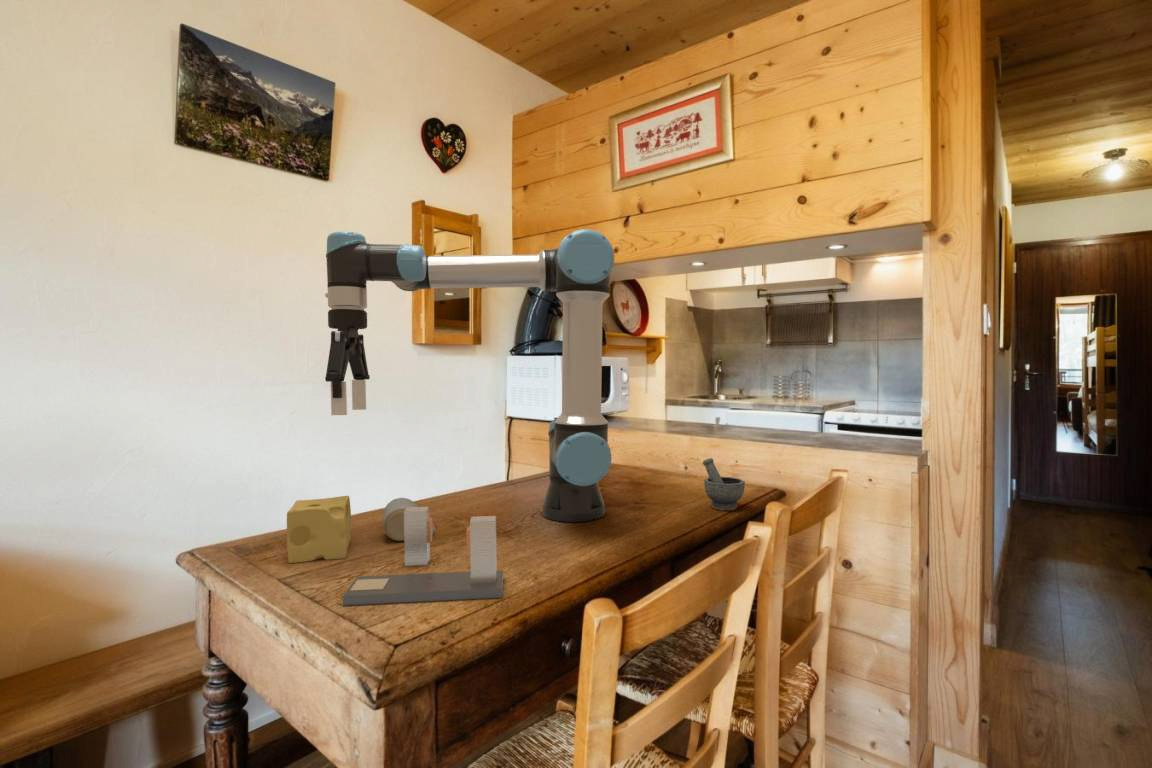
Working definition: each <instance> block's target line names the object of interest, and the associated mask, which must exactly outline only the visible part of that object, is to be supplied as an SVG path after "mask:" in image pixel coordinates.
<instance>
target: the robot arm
mask: <svg viewBox="0 0 1152 768" xmlns="http://www.w3.org/2000/svg"><path fill="white" fill-rule="evenodd" d="M425 251H426V250H425V248H424V247H423V246H421V245H417V244H416V245H415V244H409V243H403V244H388V243H387V244H382V243H380V244H379V243H378V244H375V243H367V241H366V237H365V235H363V234H361V233H357V232H352V231H351V232H349V231H343V230H342V231H335V232H334V231H333V232H330V233H329V234H328V236H327V238H326V253H325V257H326V258H325V259H326V277H327V280H326V281H327V285H326V286H327V293H325V294H324V296H325V298H327V307H328V308H329V310H328V311H327V327H328V328H330V329H333V330H331V332H330V346H329V352H328V360H327V365H326V373H325V376H324V377H325V379H324V380H325V382H326V383H327V382H328V383H329V382H330V405H331V406H330V409H331V411H330V412H331V413H330V415H331V416H347V415H348V412H347V411H348V408H347V407H348V405H347V404H348V403H347V401H348V400H347V396H348V395H347V381H345V377H346V375H347V369H348V365H349V366H350V371H351V375H352V378H353V379H351V398H352V400H351V404H352V411H355V410H356V411H357V410H359V411H361V410H362V411H363V410H364V411H365V410H367V391H366V390H367V389H366V388H367V387H366V386H367V385H366V383H367V382H366V380H370V378H371V377H370V375H369V369H368V362H367V358H366V352H365V351H366V350H365V343H364V335H363V334H362V333H361V334H359V330H366V329H367V328H368V312H366V310H365V309H367V308H368V297H367V296H368V295H367V294H368V293H367V292H368V291H367V283H368V282H369V281H370V282H391V283H393V284H394V285H395V286H396V287H397V288H398V289H400V290H402V291H405V292H416V291H419V290H430V289H433V290H434V289H479V288H480V289H482V288H483V289H487V288H489V289H491V288H493V289H494V288H497V289H498V288H539V289H540V290H541V291H542V292H555V294H556V297H557V298H558V299H559V300H560V301H561V303H562V354H561V355H562V362H561V363H562V367H561V368H562V369H561V370H562V371H561V372H562V373H561V381H562V383H561V413H560V415H559V416H557V418H556V419H555V420H552V421H551V422H550V423H549V426H548V433H547V434H548V443H549V444H548V446H549V447H548V448H549V451H548V452H549V455H548V456H549V457H548V459H549V463H548V465H549V466H548V467H549V482H548V483H549V484H548V486H547V491H546V492H545V493H546V494H545V497H544V499H543V504H542V516H543V517H544V518H546V519H548V520H552V521H556V522H563V521H564V522H566V523H570V522H571V523H581V522H582V521H583V522H590V521H594V520H593V519H595V520H598V519H601V518H602V516H603V515H604V514H606V513H605V512H606V507H605V502H604V499H603V496H602V492H601V490H600V486H599V484H598V482H600V481H601V480H602V479H604V477H605V476H606V475H607V474H608V472H609V471H610V468H611V464H612V452H611V451H612V450H611V448H610V445H609V444H608V443H609V442H608V441H609V440H608V439H609V429H608V428H609V423H608V422H609V421H608V420H607V419H606V418H605V417H604V416H603V414H602V379H603V378H602V374H603V373H602V372H603V371H602V370H603V369H602V368H603V366H602V365H603V361H602V360H603V308H604V307H603V305H604V302H605V301H606V300H608V298H609V297H610V295H611V293H610V291H611V272H612V270H613V268H614V264H615V251H614V248H613V245H612V244H611V242H610V240H609V239H608V238H607V237H606V236H605V235H604V234H603V233H601V232H599V231H597V230H595V229H590V228H589V229H588V228H582V229H577V230H574V231H572V232H570V233H569V234H568V235H566V236H565V237H564V238H563V239H562V241H560V243H559V246H558V248H554V249H553V248H552V249H541V250H540V251H539V252H538V253H537V254H536V253H535V254H531V253H530V254H479V255H478V254H475V255H474V254H473V255H472V254H468V255H467V254H466V255H465V254H464V255H463V254H462V255H461V254H459V255H426V252H425ZM367 281H368V282H367ZM334 329H335V330H334ZM604 516H605V515H604ZM604 516H603V517H604ZM600 517H601V518H600ZM597 518H598V519H597ZM589 520H590V521H589ZM564 522H563V523H564Z"/></svg>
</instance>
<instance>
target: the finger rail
mask: <svg viewBox="0 0 1152 768" xmlns="http://www.w3.org/2000/svg"><path fill="white" fill-rule="evenodd" d="M465 535H466V556H470V571H452V572H450V571H449V572H448V571H447V572H429V573H428V572H427V573H406V574H403V573H402V574H386V575H385V574H384V575H383V574H381V575H380V574H379V575H360V576H357V577H356V578H355V579H354V580H353V581H352V583H351V584H350V586H349V587H348V589H347V590H346V591H345V593H343V595H342V606H344V607H345V606H362V605H364V606H365V605H382V604H385V605H386V604H404V603H406V604H407V603H421V602H422V603H424V602H441V601H442V602H443V601H447V602H448V601H462V600H463V601H464V600H466V601H468V600H484V599H502V598H503V591H504V590H503V587H504V569H497V568H498V567H497V566H498V565H497V564H498V563H497V561H498V560H497V558H498V557H497V515H486V516H483V515H481V516H471V517H470V520H469V526H467V528H466V534H465Z"/></svg>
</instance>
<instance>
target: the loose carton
mask: <svg viewBox="0 0 1152 768" xmlns="http://www.w3.org/2000/svg"><path fill="white" fill-rule="evenodd" d="M432 525H433V517H430V506H417V507H407V508H406V509H405V511H404V541H403V543H404V566H405V567H413V566H414V567H415V566H428V564H429V562H430V559H431V556H430V555H431V553H430V552H431V551H430V549H431V548H430V543H432V541H433V535H432Z"/></svg>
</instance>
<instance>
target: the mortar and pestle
mask: <svg viewBox="0 0 1152 768" xmlns="http://www.w3.org/2000/svg"><path fill="white" fill-rule="evenodd" d="M714 462H715V460H714V459H713V458H707V459H704V460H703V461H702V465H703V466H704V467H705V470H706V472H707V475H708V477H707V478H705V479H704V482H703V483H704V491H705V493H706V496H707V498H709V499H710V500H711V507H712V506H713V507H715V508H719V509H726V510H731V511H736V510H737V509H738V504H737V502H738V501H739V500H740V499H741V498H742V497H743V495H744V493H745V486H746V485H745V484H746V483H745V482H746V481H744V479H742V478H737V477H729V476H721V475H720V473H719V471H718V469H717V467H716V465H715V463H714ZM736 508H737V509H736ZM735 509H736V510H735Z"/></svg>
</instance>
